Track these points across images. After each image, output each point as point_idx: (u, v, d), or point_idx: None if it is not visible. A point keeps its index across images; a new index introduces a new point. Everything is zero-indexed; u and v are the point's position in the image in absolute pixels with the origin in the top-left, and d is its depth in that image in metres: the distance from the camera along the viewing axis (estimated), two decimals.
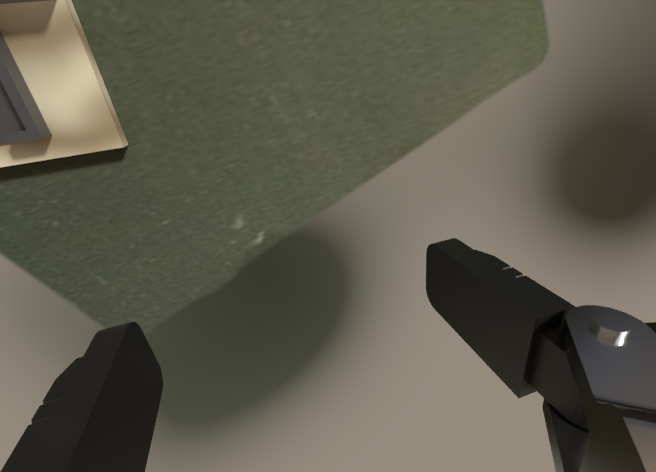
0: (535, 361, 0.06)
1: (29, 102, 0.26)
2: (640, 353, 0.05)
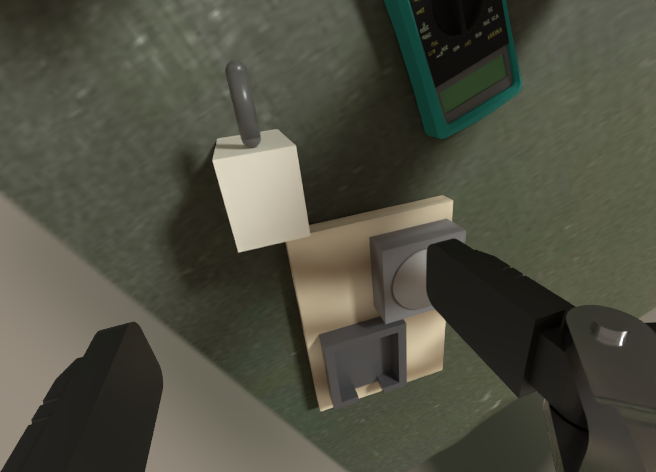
0: (535, 361, 0.06)
1: None
2: (640, 353, 0.05)
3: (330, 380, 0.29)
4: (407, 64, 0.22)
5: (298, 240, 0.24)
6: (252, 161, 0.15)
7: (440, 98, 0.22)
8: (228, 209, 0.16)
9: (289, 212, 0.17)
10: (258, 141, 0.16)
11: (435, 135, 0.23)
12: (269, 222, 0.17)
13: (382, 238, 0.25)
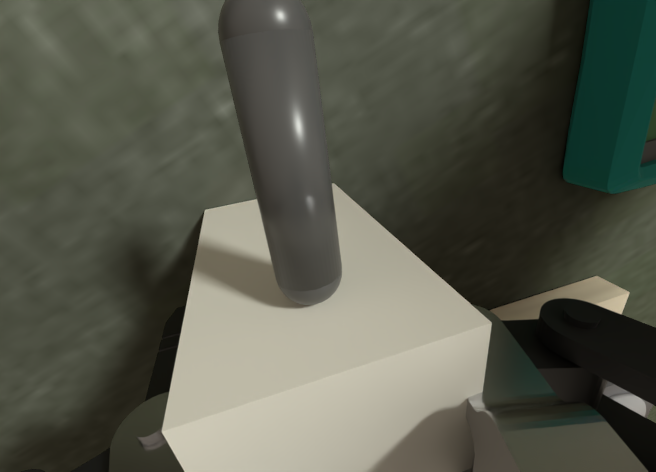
0: None
1: None
2: None
3: None
4: (599, 16, 0.10)
5: None
6: (328, 398, 0.04)
7: None
8: None
9: None
10: (336, 288, 0.05)
11: (597, 182, 0.11)
12: None
13: None
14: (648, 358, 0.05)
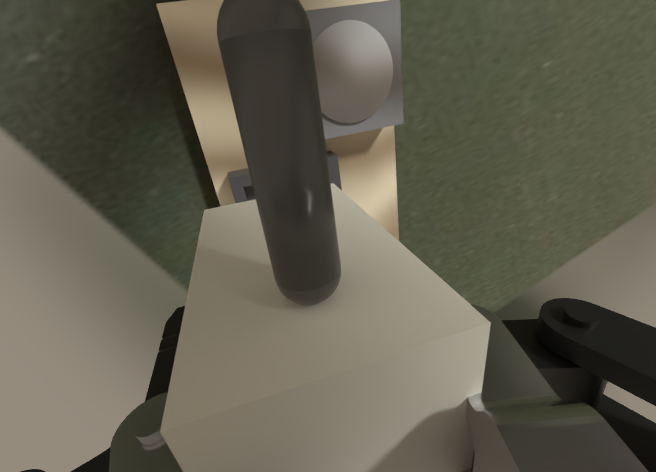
0: None
1: None
2: None
3: None
4: None
5: (175, 9, 0.18)
6: (327, 399, 0.04)
7: None
8: None
9: None
10: (335, 288, 0.05)
11: None
12: None
13: None
14: (648, 358, 0.05)
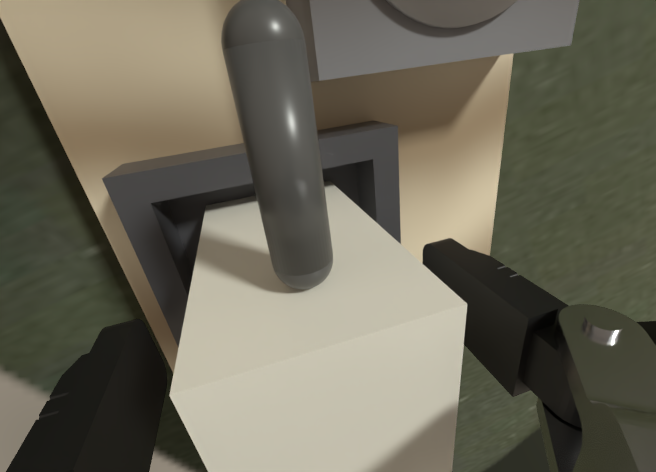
0: (528, 360, 0.06)
1: None
2: (631, 352, 0.05)
3: (166, 312, 0.09)
4: None
5: None
6: (318, 370, 0.04)
7: None
8: None
9: (410, 464, 0.06)
10: (328, 273, 0.05)
11: None
12: None
13: None
14: None
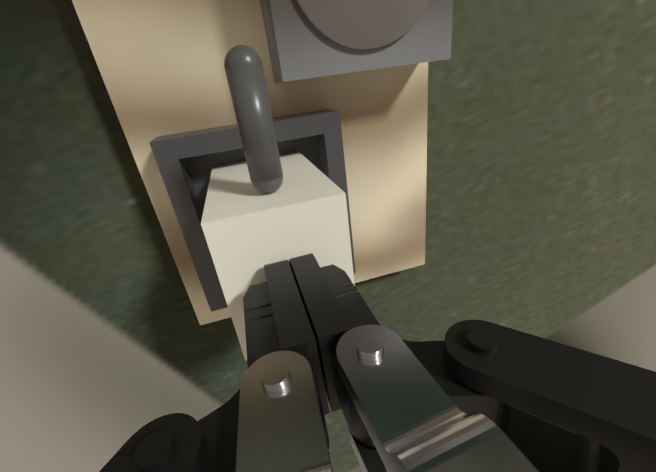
0: (332, 377, 0.07)
1: None
2: (375, 374, 0.05)
3: (186, 236, 0.14)
4: None
5: None
6: (270, 221, 0.09)
7: None
8: (229, 299, 0.09)
9: None
10: (279, 183, 0.10)
11: None
12: None
13: None
14: (548, 377, 0.05)
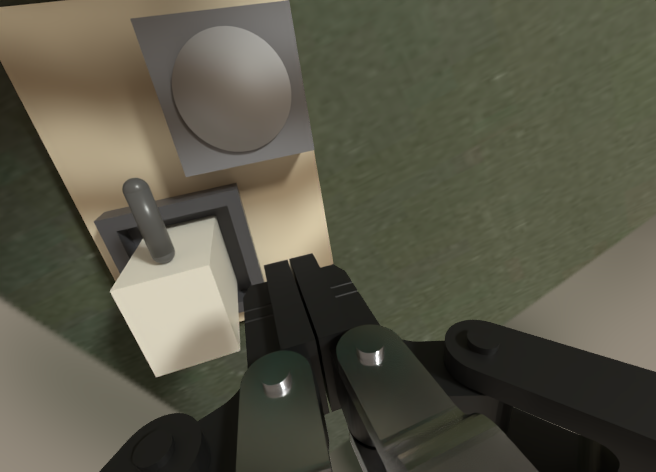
0: (332, 377, 0.07)
1: (258, 263, 0.21)
2: (375, 374, 0.05)
3: None
4: None
5: (1, 17, 0.14)
6: (158, 286, 0.14)
7: None
8: (137, 337, 0.14)
9: (212, 331, 0.15)
10: (170, 257, 0.14)
11: None
12: (189, 343, 0.15)
13: None
14: (548, 377, 0.05)
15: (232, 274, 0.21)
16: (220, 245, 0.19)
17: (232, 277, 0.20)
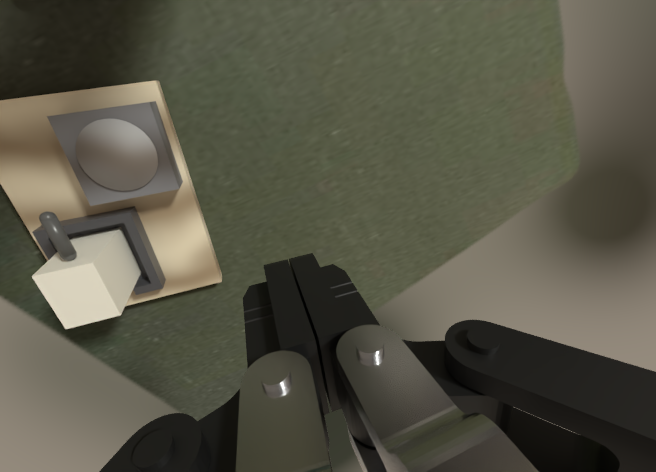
0: (332, 377, 0.07)
1: (154, 260, 0.31)
2: (375, 374, 0.05)
3: None
4: None
5: None
6: (61, 274, 0.23)
7: None
8: (51, 303, 0.24)
9: (99, 302, 0.25)
10: (72, 257, 0.24)
11: None
12: (85, 309, 0.25)
13: None
14: (548, 377, 0.05)
15: (133, 267, 0.30)
16: (119, 248, 0.29)
17: (132, 269, 0.30)
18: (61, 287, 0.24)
